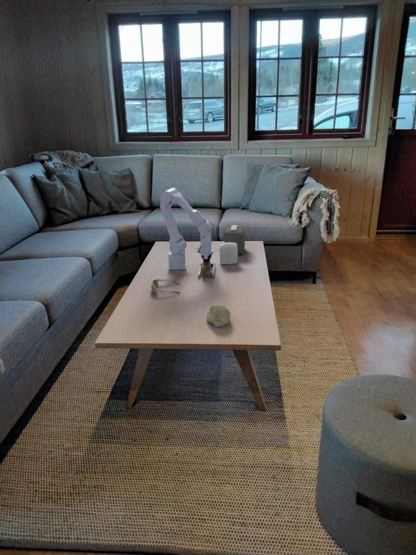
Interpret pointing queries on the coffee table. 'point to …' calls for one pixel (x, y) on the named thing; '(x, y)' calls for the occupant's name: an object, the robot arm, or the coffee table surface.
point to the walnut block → (206, 269)
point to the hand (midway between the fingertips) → (207, 266)
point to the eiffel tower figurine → (200, 249)
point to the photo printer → (228, 253)
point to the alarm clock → (235, 237)
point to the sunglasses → (155, 283)
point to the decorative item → (218, 315)
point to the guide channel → (211, 268)
